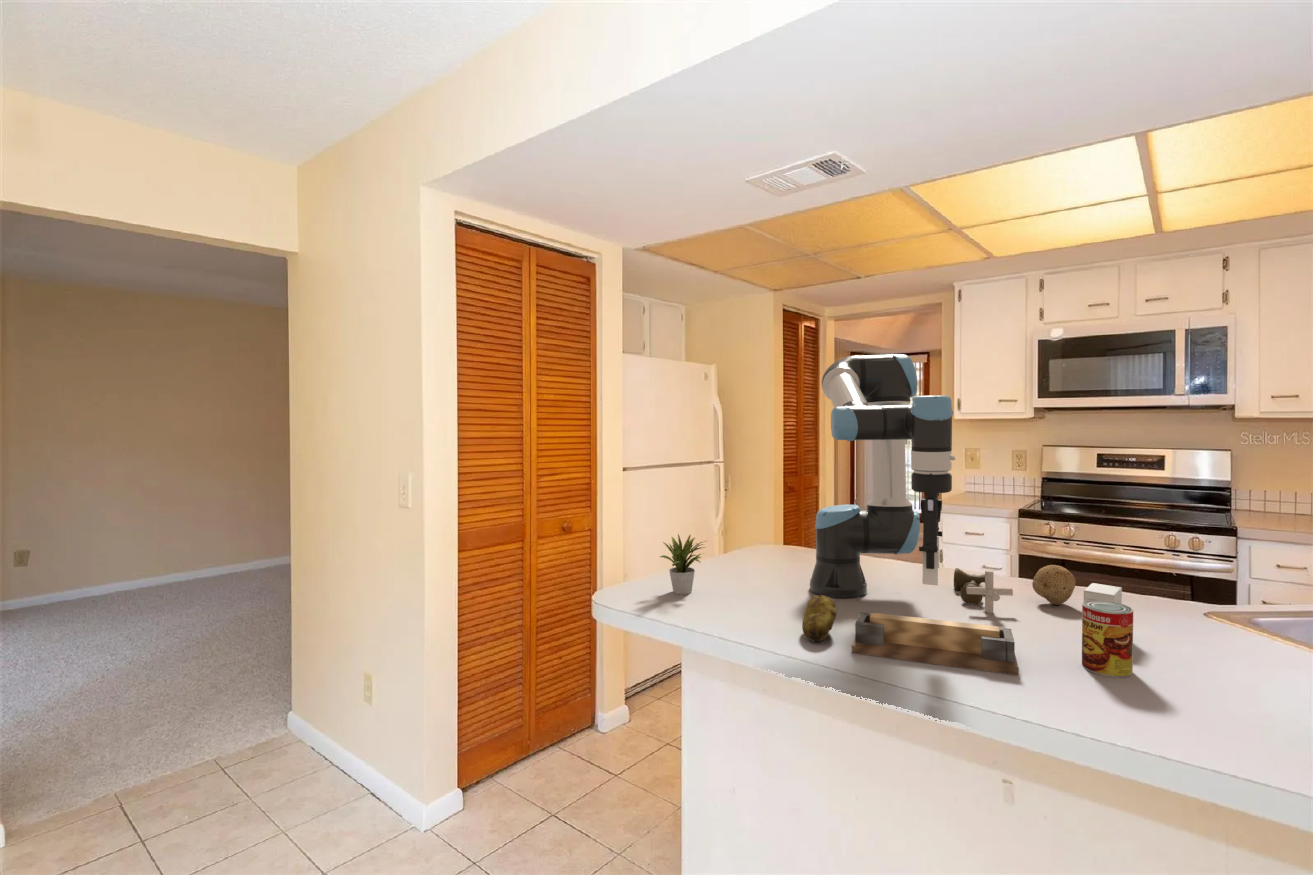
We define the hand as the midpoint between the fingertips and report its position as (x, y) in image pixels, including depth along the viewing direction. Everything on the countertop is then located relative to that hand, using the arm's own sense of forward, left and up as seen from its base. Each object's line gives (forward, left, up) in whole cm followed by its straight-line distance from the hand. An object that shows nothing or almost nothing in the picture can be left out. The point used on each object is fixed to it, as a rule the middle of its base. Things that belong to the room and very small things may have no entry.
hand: (931, 575), depth 130 cm
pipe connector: (-15, +32, -16) cm, 39 cm away
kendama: (-27, +40, -16) cm, 51 cm away
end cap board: (0, 0, -16) cm, 16 cm away
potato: (-18, -15, -16) cm, 28 cm away
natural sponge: (-13, +51, -16) cm, 55 cm away
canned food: (+19, +24, -16) cm, 35 cm away
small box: (+7, +40, -16) cm, 44 cm away
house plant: (-60, -30, -16) cm, 69 cm away
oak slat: (0, 0, -14) cm, 14 cm away
